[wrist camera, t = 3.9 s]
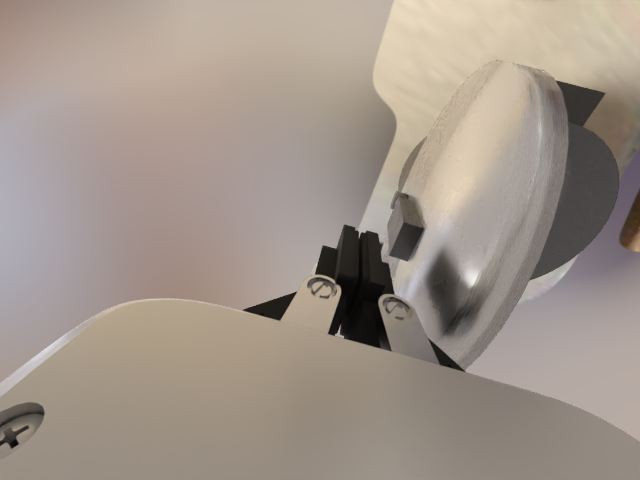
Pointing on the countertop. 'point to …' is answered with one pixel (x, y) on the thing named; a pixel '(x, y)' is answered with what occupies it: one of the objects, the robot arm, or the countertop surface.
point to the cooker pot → (573, 184)
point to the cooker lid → (479, 206)
